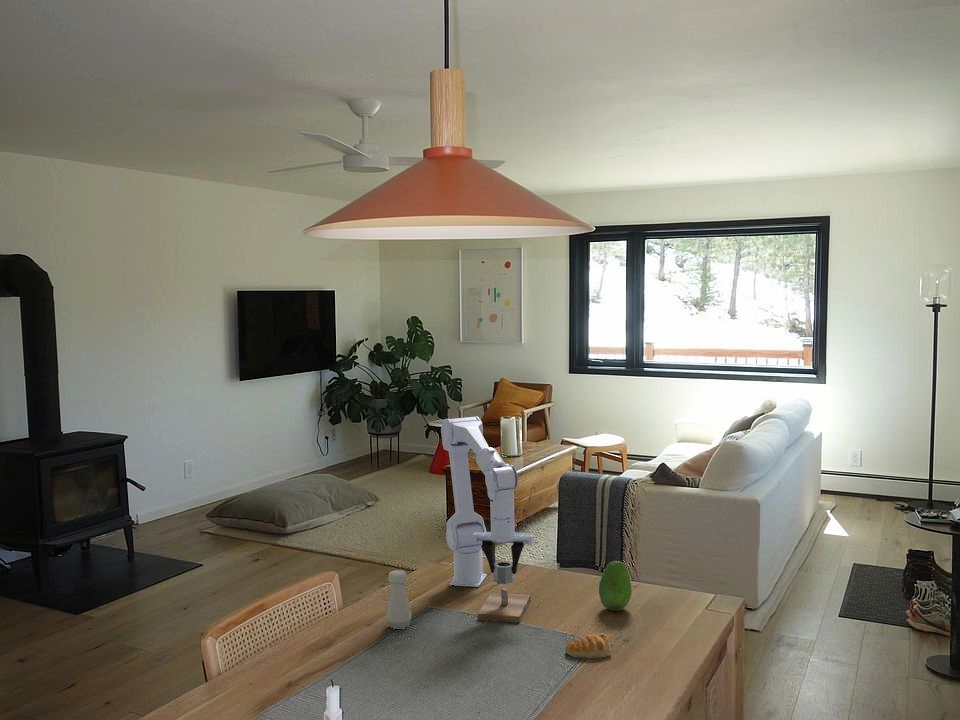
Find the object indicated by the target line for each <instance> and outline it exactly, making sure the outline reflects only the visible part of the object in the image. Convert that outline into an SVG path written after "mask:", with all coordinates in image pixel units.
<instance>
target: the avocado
mask: <svg viewBox="0 0 960 720" xmlns="http://www.w3.org/2000/svg"><path fill="white" fill-rule="evenodd" d="M598 584H599V585H598V594H599V599H600V603H601V604H602V605H603V607H605V608H606V609H608V610H609V611H613V612H617V611H618V612H619V611H621V610H624V609H625V608H626V607H627V606H628V605H629V603H630V601H631V596H632V582H631V579H630V575H629V570H628V568H627V566H626V564H625V562H623V561H620V560H612V561H610V562H609V563H608V564H607V565H606V568H605V569H604V571H603V573H602V576H601V577H600V581H599V583H598Z"/></svg>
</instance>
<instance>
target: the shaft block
mask: <svg viewBox="0 0 960 720" xmlns="http://www.w3.org/2000/svg"><path fill="white" fill-rule="evenodd" d="M530 603H531V594H520V593H509V590H508V588H501V589H500V592H490V594H489V596H488V597H487V599H486V600H485V602H484V604H483V605H482V606H481V607H480V609H479V611H478V612H477V620H478V619H480V620H479V621H487V620H491V622H501V621H505V622H504V623H515V624H516V623H521V621H522V619H523V617H524V615H525V613H526V612H527V609H528V607H529V605H530Z"/></svg>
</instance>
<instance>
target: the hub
mask: <svg viewBox="0 0 960 720" xmlns="http://www.w3.org/2000/svg"><path fill="white" fill-rule="evenodd" d="M514 581H515V574H512V562H511V561H506V560H501V561H495V563H494V573H493V582H494V583H496V584H499V585H500V584H501V585H508V584H511V583H513V582H514Z"/></svg>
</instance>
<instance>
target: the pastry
mask: <svg viewBox="0 0 960 720" xmlns="http://www.w3.org/2000/svg"><path fill="white" fill-rule="evenodd" d="M564 650H565V653H566V654H567V655H568V656H571V657H572V658H582V659H594V658H595V659H596V658H606V657H610V656H611V655H612V653H613V652H612V647H611V644H610V641H609V637H608V636H607V634H606V633H603V632H601V633H599V634H595V633H593V634H586V635H583V636H581V637H580V638H576V639H575V638H574V640H571V641H570V642H568V643H567V644H566V645H565V649H564Z"/></svg>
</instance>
